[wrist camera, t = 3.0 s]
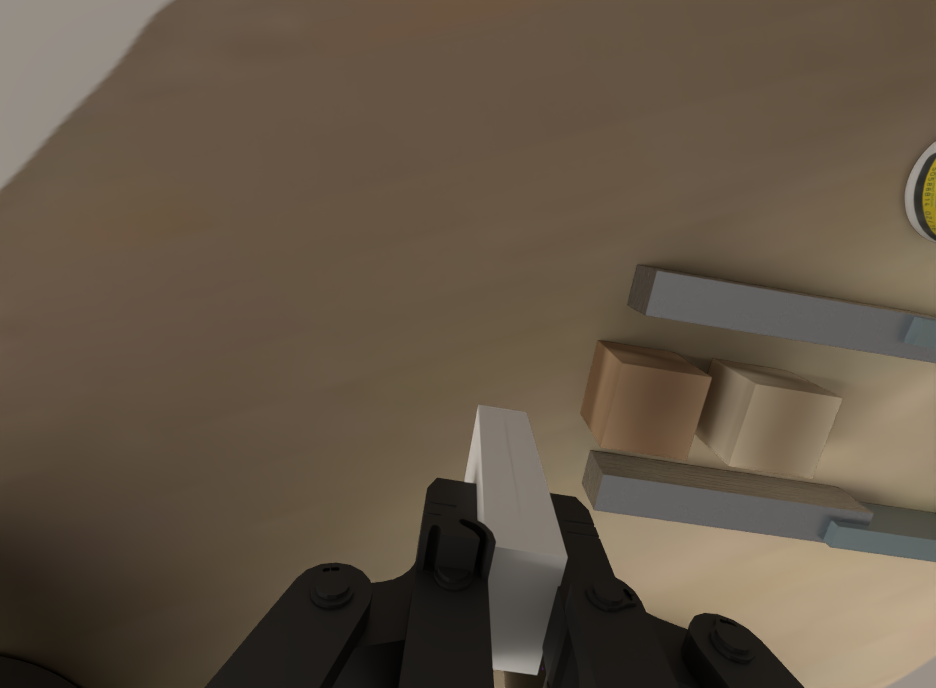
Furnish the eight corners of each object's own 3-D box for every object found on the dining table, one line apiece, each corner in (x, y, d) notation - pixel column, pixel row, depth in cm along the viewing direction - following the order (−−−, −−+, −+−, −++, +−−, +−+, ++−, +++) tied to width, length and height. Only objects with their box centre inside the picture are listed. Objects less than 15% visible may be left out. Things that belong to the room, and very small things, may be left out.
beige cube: (689, 428, 26) (728, 466, 23) (711, 358, 25) (756, 384, 22) (760, 440, 27) (811, 478, 23) (785, 370, 26) (843, 398, 22)
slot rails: (582, 483, 27) (593, 509, 25) (637, 264, 24) (657, 270, 22) (824, 518, 28) (859, 547, 25) (908, 310, 25) (956, 321, 22)
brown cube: (579, 412, 26) (600, 447, 22) (597, 339, 25) (622, 363, 21) (653, 423, 26) (686, 460, 22) (673, 352, 25) (711, 377, 21)
